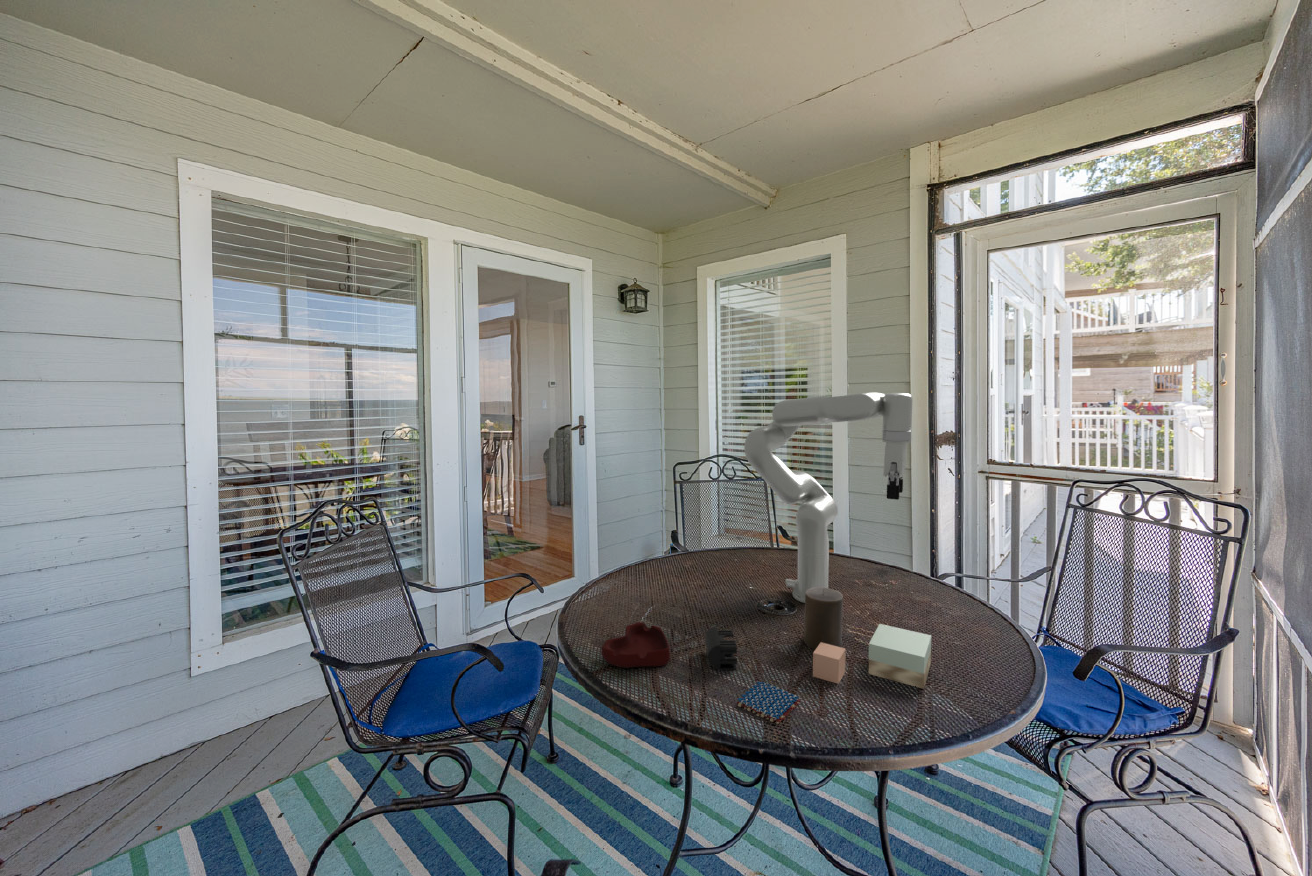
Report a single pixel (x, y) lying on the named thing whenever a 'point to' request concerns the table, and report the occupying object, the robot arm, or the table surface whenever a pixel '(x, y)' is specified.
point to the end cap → (721, 649)
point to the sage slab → (900, 648)
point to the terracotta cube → (829, 662)
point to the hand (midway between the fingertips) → (894, 495)
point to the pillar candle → (823, 617)
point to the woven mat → (769, 702)
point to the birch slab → (900, 673)
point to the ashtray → (638, 647)
